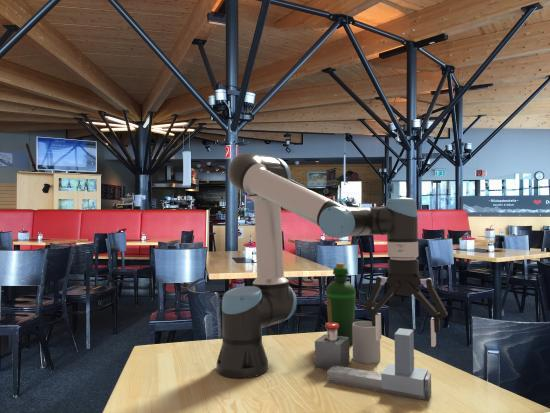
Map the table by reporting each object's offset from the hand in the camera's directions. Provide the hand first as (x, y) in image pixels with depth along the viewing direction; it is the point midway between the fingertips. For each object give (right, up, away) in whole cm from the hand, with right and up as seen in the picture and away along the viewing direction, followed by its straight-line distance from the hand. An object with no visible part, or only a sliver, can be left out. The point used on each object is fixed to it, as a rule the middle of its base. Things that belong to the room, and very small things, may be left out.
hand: (405, 342), depth 109 cm
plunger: (-16, -10, +19) cm, 27 cm away
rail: (-6, -13, +3) cm, 15 cm away
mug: (-4, -14, +27) cm, 30 cm away
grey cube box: (-16, -13, +19) cm, 28 cm away
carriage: (0, -11, 0) cm, 11 cm away
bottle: (-10, -14, +42) cm, 45 cm away
